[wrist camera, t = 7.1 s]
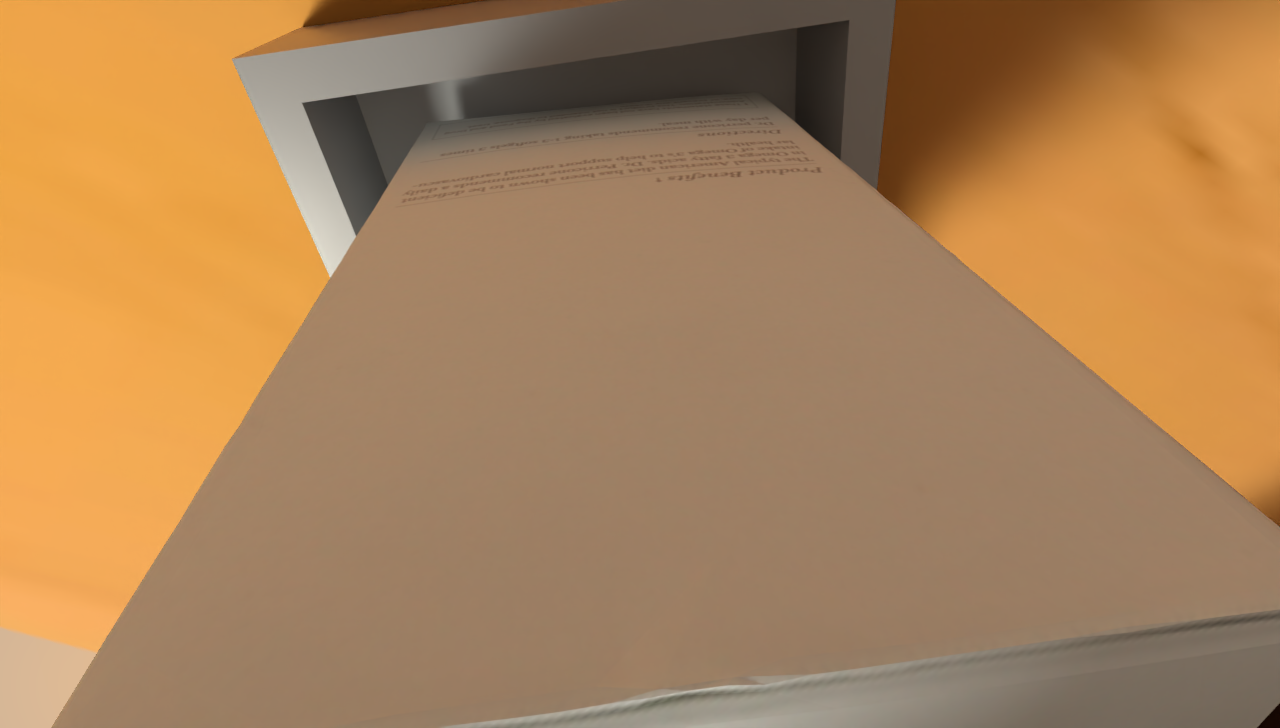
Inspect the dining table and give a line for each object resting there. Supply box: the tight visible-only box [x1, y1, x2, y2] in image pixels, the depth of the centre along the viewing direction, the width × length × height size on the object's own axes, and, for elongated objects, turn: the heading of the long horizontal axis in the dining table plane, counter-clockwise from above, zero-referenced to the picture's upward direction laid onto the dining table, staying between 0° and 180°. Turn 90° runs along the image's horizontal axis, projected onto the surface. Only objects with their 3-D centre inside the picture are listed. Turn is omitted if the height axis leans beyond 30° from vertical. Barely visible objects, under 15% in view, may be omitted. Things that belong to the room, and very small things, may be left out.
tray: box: [232, 0, 896, 278], centre depth 18 cm, size 21×11×4 cm, turn 7°
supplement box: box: [52, 92, 1280, 728], centre depth 10 cm, size 7×7×13 cm
